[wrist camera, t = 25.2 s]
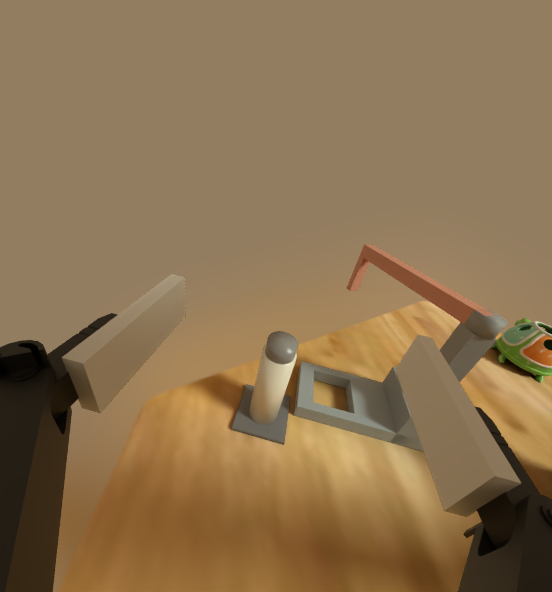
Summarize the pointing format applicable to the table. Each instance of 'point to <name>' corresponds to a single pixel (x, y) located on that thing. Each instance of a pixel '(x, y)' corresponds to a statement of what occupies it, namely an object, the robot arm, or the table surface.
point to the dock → (381, 394)
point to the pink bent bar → (430, 292)
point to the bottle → (273, 377)
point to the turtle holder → (527, 347)
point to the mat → (250, 427)
